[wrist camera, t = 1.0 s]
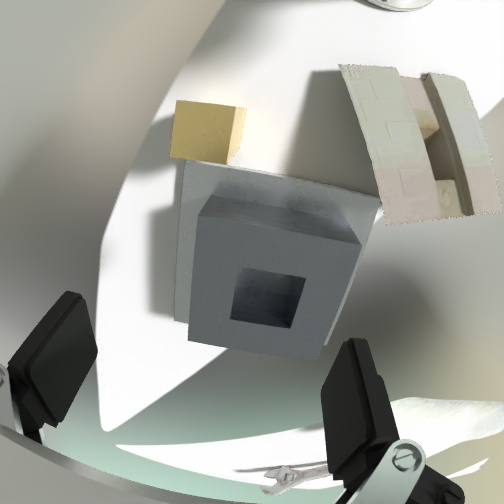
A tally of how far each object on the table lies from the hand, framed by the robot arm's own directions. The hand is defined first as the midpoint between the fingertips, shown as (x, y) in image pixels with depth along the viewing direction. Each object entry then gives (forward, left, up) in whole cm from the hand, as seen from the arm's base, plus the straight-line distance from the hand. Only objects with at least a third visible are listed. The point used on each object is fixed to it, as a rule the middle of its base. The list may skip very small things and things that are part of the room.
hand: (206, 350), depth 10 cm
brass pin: (-6, -4, -23) cm, 24 cm away
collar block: (+8, +3, -23) cm, 24 cm away
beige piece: (-10, +16, -23) cm, 30 cm away
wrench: (+59, +28, -23) cm, 69 cm away
